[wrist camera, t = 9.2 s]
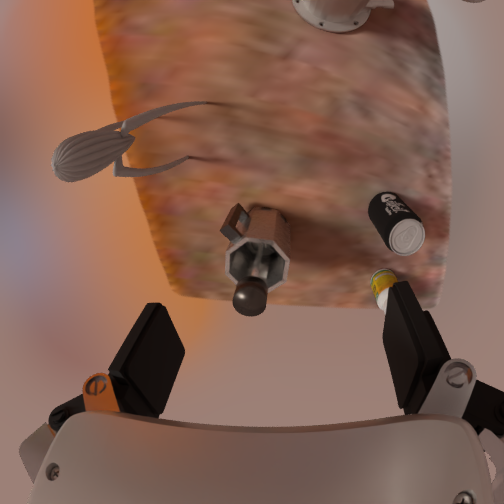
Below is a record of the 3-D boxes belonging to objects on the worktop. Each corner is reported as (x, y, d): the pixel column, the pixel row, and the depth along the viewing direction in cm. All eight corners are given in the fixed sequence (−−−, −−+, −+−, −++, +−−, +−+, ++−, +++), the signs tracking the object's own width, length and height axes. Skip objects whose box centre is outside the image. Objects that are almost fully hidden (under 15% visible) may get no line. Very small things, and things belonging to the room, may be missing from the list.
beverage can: (359, 210, 47) (377, 241, 37) (383, 182, 44) (408, 207, 34) (384, 231, 49) (405, 266, 38) (407, 205, 46) (435, 234, 35)
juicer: (227, 124, 43) (136, 158, 17) (188, 159, 47) (77, 235, 21) (186, 80, 40) (58, 68, 14) (150, 117, 44) (13, 153, 18)
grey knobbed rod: (277, 219, 48) (270, 280, 32) (282, 251, 50) (277, 320, 35) (241, 223, 49) (219, 285, 33) (248, 254, 51) (230, 323, 36)
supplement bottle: (397, 283, 53) (411, 313, 45) (374, 293, 55) (384, 325, 47) (390, 263, 52) (405, 292, 43) (366, 274, 53) (377, 305, 45)
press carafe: (299, 236, 51) (302, 272, 41) (260, 262, 55) (253, 302, 44) (257, 185, 48) (247, 210, 37) (218, 216, 51) (199, 248, 41)
